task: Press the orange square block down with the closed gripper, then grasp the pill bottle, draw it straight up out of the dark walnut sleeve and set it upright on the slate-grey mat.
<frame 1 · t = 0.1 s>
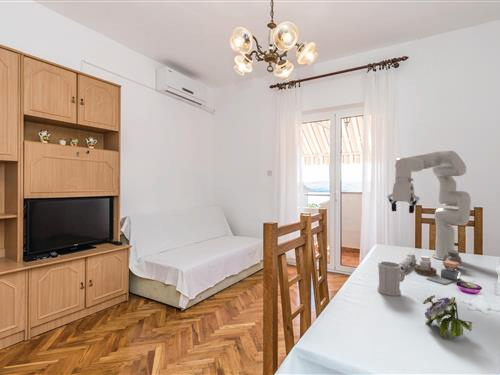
hand: (402, 212, 149), 31 cm above the table, fingers open, 9 cm apart
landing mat: (439, 280, 132), on the table
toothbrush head: (406, 268, 152), on the table
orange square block: (451, 267, 135), point 6 cm above the table, slide at 0.0 cm
passion flower: (446, 331, 88), on the table
cup: (389, 292, 118), on the table
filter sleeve: (425, 272, 144), on the table
pill bottle: (425, 273, 144), resting in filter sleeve
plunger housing: (450, 278, 135), on the table
pipe fitting: (451, 269, 151), on the table
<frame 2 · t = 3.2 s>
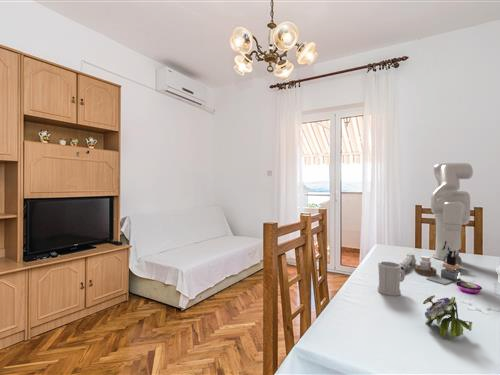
hand: (451, 264, 135), 7 cm above the table, fingers closed
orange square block: (450, 269, 135), point 5 cm above the table, slide at 1.0 cm, touching gripper
everything else where it was.
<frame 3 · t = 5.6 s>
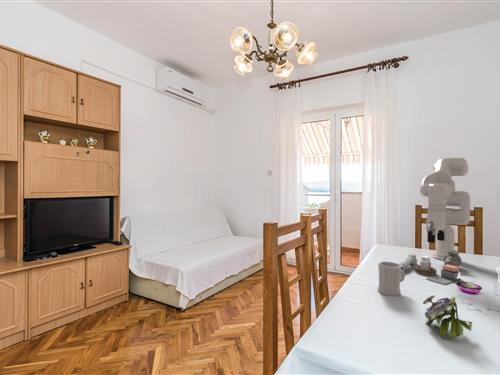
hand: (436, 241, 140), 17 cm above the table, fingers open, 9 cm apart
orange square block: (450, 271, 135), point 4 cm above the table, slide at 2.0 cm
everything else where it was.
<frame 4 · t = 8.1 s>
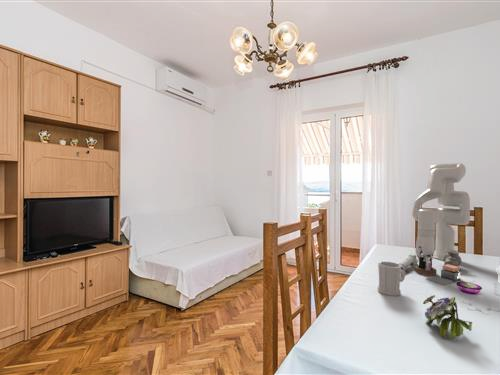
hand: (425, 267, 144), 3 cm above the table, fingers closed on pill bottle, 4 cm apart
pill bottle: (425, 273, 144), resting in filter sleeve, touching gripper
everything else where it was.
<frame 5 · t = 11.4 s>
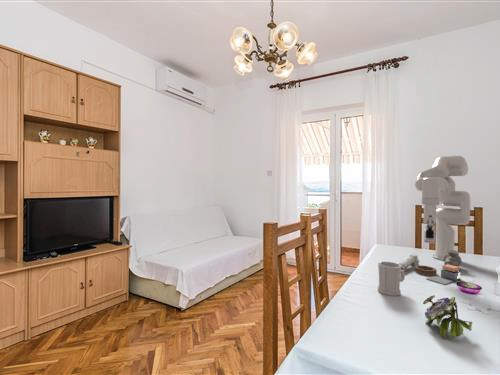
hand: (429, 236, 140), 20 cm above the table, fingers closed on pill bottle, 4 cm apart
pill bottle: (429, 242, 140), point 16 cm above the table, touching gripper
everything else where it was.
when the fingers open (4 cm above the table, at t = 15.1 s): pill bottle stays where it is, resting on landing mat.
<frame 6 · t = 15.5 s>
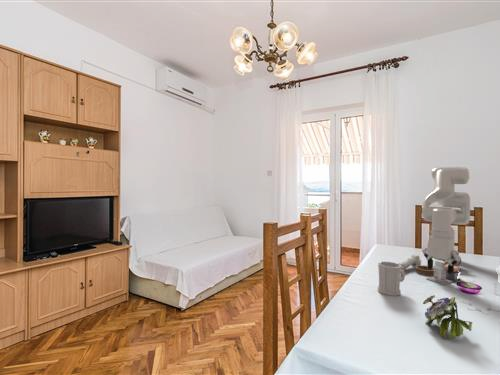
hand: (440, 270, 132), 5 cm above the table, fingers open, 8 cm apart
pill bottle: (439, 279, 132), resting on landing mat
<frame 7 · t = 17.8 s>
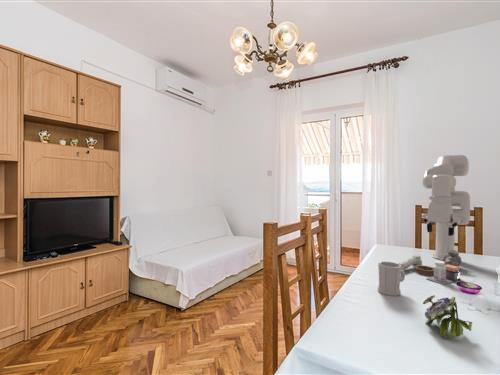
hand: (439, 233, 138), 22 cm above the table, fingers open, 9 cm apart
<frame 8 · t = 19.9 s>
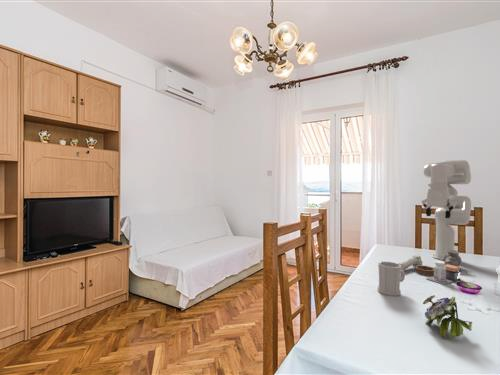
hand: (437, 217, 152), 28 cm above the table, fingers open, 9 cm apart
at the end: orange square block slide at 2.0 cm; pill bottle 0.2 cm off-centre on the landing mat, point 0.3 cm above the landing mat's base; pill bottle tilted 0° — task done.
